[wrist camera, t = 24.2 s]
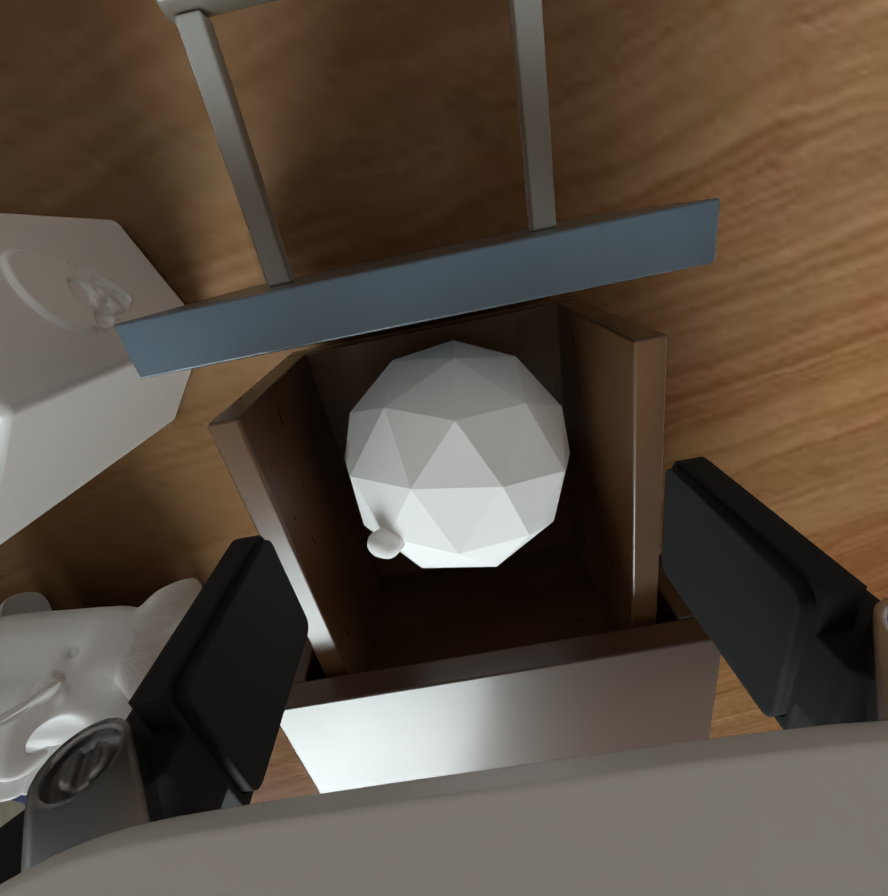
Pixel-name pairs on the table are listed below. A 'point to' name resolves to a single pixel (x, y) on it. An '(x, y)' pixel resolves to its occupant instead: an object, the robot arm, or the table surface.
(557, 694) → the cabinet
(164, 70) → the table surface
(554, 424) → the ornament
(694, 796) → the robot arm
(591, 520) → the drawer
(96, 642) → the elephant figurine
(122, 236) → the jar
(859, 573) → the table surface
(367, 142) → the table surface
